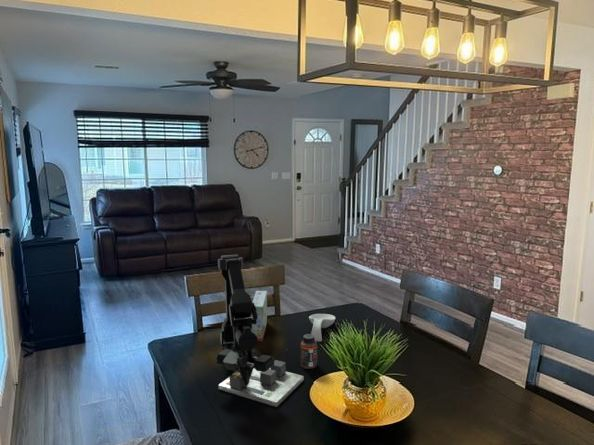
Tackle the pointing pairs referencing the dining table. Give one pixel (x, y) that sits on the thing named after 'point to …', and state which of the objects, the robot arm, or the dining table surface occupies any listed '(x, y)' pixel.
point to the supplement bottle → (308, 352)
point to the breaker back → (279, 367)
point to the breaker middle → (268, 377)
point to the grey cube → (237, 380)
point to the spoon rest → (320, 324)
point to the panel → (265, 388)
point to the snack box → (260, 314)
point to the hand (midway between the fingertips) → (246, 384)
